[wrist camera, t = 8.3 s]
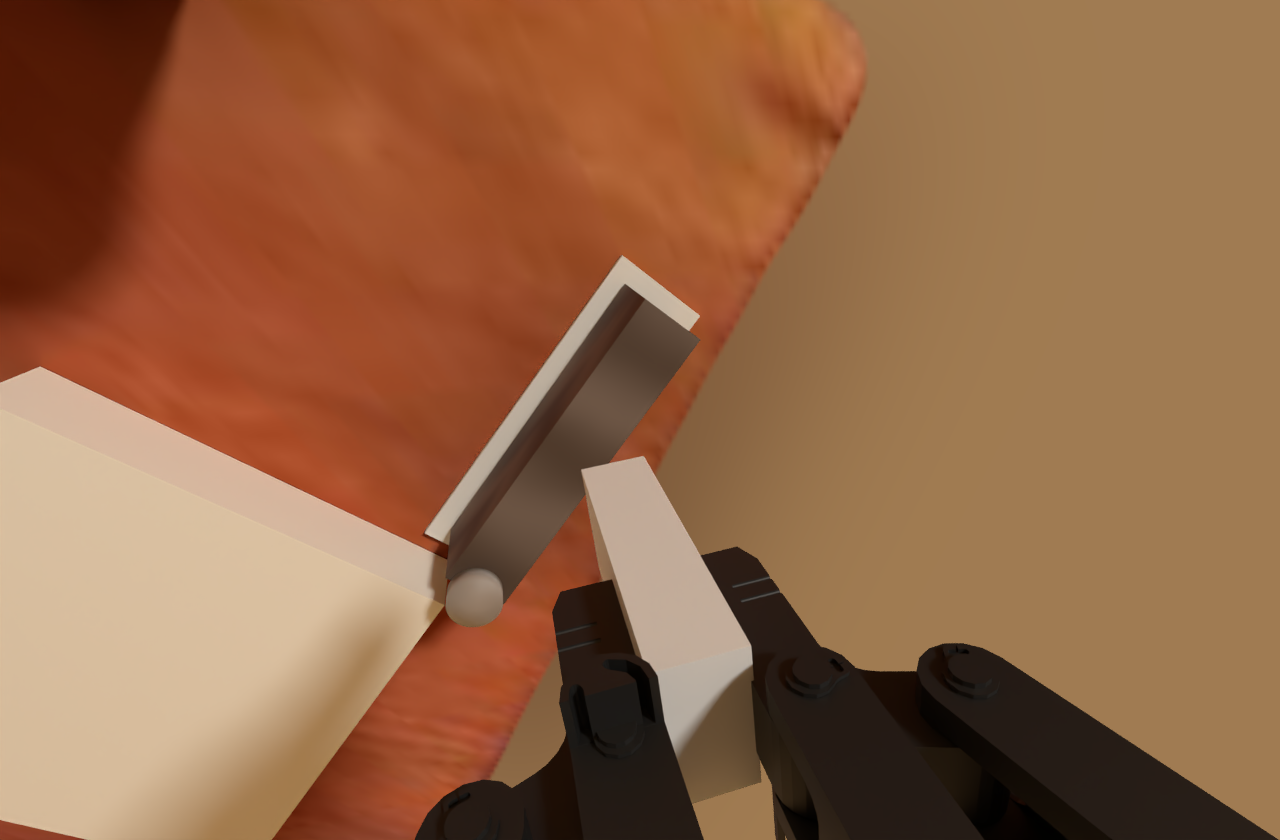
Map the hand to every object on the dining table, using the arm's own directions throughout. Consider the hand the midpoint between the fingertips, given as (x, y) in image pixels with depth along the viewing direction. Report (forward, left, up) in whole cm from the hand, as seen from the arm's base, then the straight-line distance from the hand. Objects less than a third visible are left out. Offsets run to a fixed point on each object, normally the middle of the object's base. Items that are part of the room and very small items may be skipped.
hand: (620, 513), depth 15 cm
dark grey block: (+3, -4, -18) cm, 19 cm away
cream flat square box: (-7, -24, -18) cm, 31 cm away
